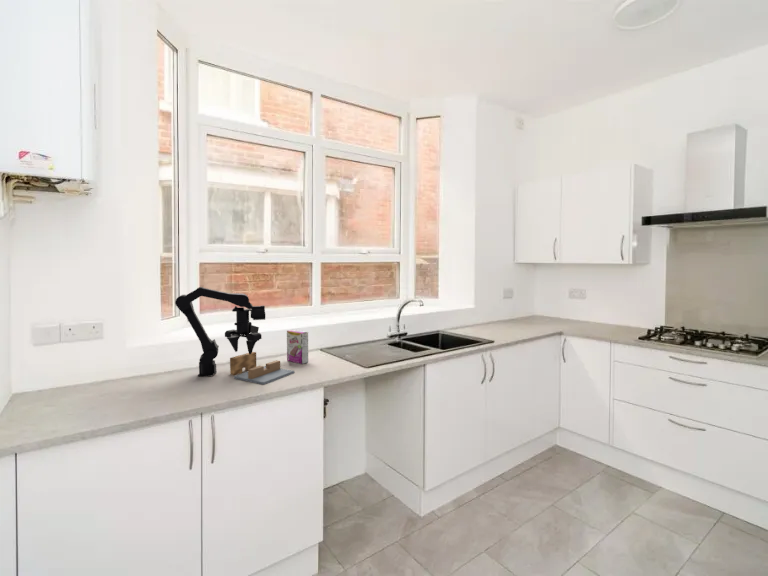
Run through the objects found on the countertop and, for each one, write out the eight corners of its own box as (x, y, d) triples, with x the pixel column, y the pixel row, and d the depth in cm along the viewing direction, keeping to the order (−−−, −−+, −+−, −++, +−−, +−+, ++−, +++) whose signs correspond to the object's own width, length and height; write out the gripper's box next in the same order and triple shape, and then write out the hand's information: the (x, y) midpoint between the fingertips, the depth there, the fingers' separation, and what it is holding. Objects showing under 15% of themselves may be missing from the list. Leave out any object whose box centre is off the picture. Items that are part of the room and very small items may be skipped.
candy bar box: (286, 361, 212) (286, 330, 211) (293, 359, 216) (293, 329, 215) (302, 364, 206) (301, 332, 205) (308, 362, 210) (308, 331, 209)
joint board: (263, 384, 174) (263, 373, 173) (234, 378, 182) (233, 367, 181) (294, 372, 191) (294, 362, 191) (265, 367, 200) (265, 357, 199)
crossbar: (234, 375, 186) (233, 358, 185) (230, 374, 187) (229, 357, 187) (256, 368, 198) (256, 352, 198) (252, 367, 200) (252, 351, 199)
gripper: (269, 319, 194) (269, 351, 195) (241, 316, 202) (242, 347, 203) (252, 323, 184) (252, 356, 185) (223, 319, 192) (224, 351, 194)
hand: (243, 352), depth 192 cm, fingers open, 9 cm apart
